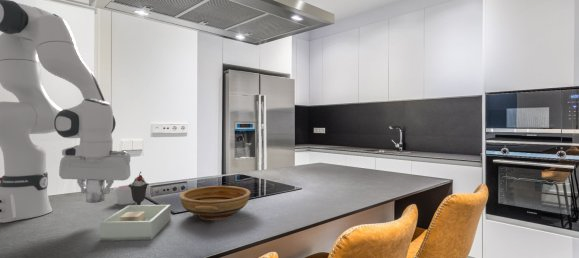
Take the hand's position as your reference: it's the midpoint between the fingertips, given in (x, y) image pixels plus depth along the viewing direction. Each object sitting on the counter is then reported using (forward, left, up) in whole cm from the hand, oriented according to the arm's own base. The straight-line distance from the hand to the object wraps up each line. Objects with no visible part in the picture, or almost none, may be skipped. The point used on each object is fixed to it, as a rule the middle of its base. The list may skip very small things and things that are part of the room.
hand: (95, 193), depth 98 cm
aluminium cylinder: (0, 0, -2) cm, 2 cm away
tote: (+16, -6, -10) cm, 20 cm away
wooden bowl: (+37, +7, -10) cm, 39 cm away
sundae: (+9, +12, -10) cm, 18 cm away
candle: (-1, +26, -10) cm, 28 cm away
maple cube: (+16, -10, -9) cm, 21 cm away
